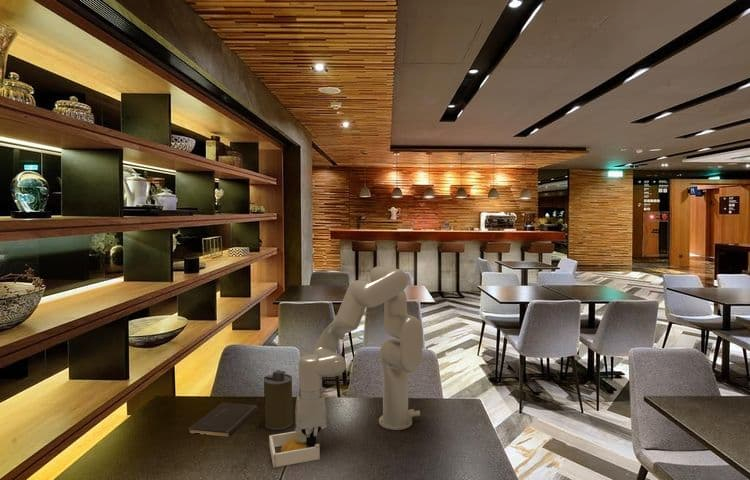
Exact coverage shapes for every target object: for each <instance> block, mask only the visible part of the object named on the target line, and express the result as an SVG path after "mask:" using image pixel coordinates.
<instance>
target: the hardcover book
mask: <svg viewBox="0 0 750 480" xmlns="http://www.w3.org/2000/svg"><path fill="white" fill-rule="evenodd" d="M258 410H259V406H258V405H257V404H248V403H247V404H245V403H244V404H243V403H233V402H220V403H219V404H218V405H217V406H215V408H213V409H212V410H211V411H209V412H208V413H207V414H205V415H204V416H202V418H200V419H199V420H198V421H197V422H195V423H194V424H193V425H191V426H190V427H189V428H188V430H189V433H190V434H194V433H200V434H199V435H204V434H206V436H207V435H208V436H216V437H225V438H226V437H227V438H230V437H231V436H233V434H234V433H235V432H236V431H237V430H238V429H239V428H240V427H242V425H244V423H246V422H247V421H248V420H249V418H251V417H252V416H253V415H254V414H255V413H256V412H258Z"/></svg>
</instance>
